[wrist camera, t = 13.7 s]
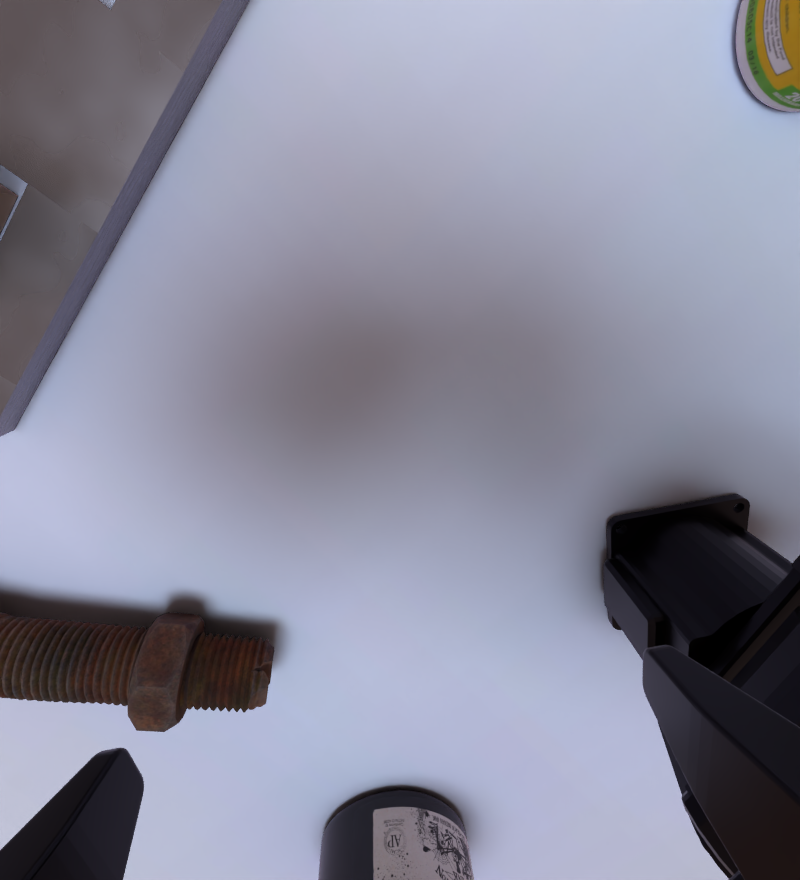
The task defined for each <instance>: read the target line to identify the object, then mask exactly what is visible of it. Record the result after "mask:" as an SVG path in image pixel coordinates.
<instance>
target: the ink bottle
mask: <svg viewBox="0 0 800 880" xmlns="http://www.w3.org/2000/svg"><path fill="white" fill-rule="evenodd" d="M318 880H474V877H473V871H472V865H471V859H470V852H469V846H468V842H467V838H466V833H465V829H464V826H463V823H462V821H461V819H460V818H459V816H458V815H457V814H456V812H455V811H454V810H453V809H452V808H450V807H449V806H448V805H447V804H445V803H444V802H442V801H440V800H439V799H437V798H435V797H432V796H430V795H427V794H424V793H420V792H416V791H409V790H394V791H386V792H381V793H377V794H374V795H371V796H368V797H365V798H363V799H360V800H358V801H356V802H354V803H352V804H350V805H349V806H347V807H346V808H344V809H343V810H341V811H340V812H339V813H338V814H337V815H336V816H335V817H334V818H333V819H332V820H331V821H330V822H329V824H328V825H327V827H326V829H325V831H324V834H323V838H322V844H321V855H320V867H319V879H318Z"/></svg>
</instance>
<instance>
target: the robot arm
mask: <svg viewBox="0 0 800 880" xmlns="http://www.w3.org/2000/svg"><path fill="white" fill-rule="evenodd" d="M736 504H738V505H737V506H736V507H735V508H734V506H735V505H736ZM749 507H750V505H749V502H748V500H747V499H745V498H744V497H742V496H740V495H738V494H733V495H728V496H722V497H717V498H711V499H706V500H701V501H695V502H690V503H684V504H679V505H674V506H668V507H663V508H657V509H652V510H646V511H641V512H636V513H630V514H625V515H619V516H616V517H613V518H612V519H610V520H609V522H608V524H607V560H606V561H605V563H604V565H603V567H604V603H605V606H606V607H607V609H608V618H609V621H610V623H611V624H612V626H613V627H614V628H615V629H617V630H622V631H623V632H624V633H625V635H626V636H627V638H628V639H629V641H630V642H631V644H632V645H633V647H634V648H635V650H636V651H637V652H638V654H639V655H640V657H641V658H642V660H643V688H644V692H645V695H646V697H647V699H648V702H649V704H650V706H651V708H652V710H653V712H654V714H655V716H656V718H657V720H658V724H659V727H660V730H661V733H662V736H663V739H664V742H665V745H666V748H667V751H668V754H669V757H670V760H671V763H672V766H673V769H674V772H675V775H676V778H677V781H678V784H679V787H680V790H681V793H682V801H683V804H684V807H685V810H686V812H687V813H688V815H689V817H690V819H691V822H692V824H693V827H694V829H695V831H696V833H697V835H698V837H699V839H700V841H701V843H702V845H703V847H704V848H705V850H706V851H707V852H708V853H709V854H710V856H711V857H712V858H713V860H714V861H715V863H716V864H717V865H718V866H719V868H720V869H721V870H722V871H723V872H724V874H725V875H726V876H727V877H728V878H729V880H800V555H799V556H798V558H797V559H796V560H795V561H794V562H793V563H791V562H790V561H788V560H787V559H785V558H784V557H783V556H781V555H780V554H778V553H777V552H776V551H774V550H773V549H771V548H770V547H769V546H767V545H766V544H764V543H763V542H762V541H760V540H759V539H758V538H756V537H755V536H753V535H752V534H751V533H749V532H748V531H747V526H748V516H749ZM620 525H622V527H621V528H620V529H618V530H616V529H617V527H618V526H620ZM143 791H144V781H143V777H142V775H141V773H140V771H139V770H138V768H137V766H136V764H135V763H134V761H133V759H132V757H131V756H130V754H129V752H128V751H127V750H126V749H124V748H116V749H111V750H105V751H102V752H99V753H98V754H96V755H95V756H94V757H93V758H91V760H90V761H89V762H88V763H87V764H86V765H85V766H84V767H83V768H82V769H81V770H80V771H79V772H78V773H77V774H76V775H75V776H74V777H73V778H72V779H71V780H70V781H69V782H68V783H67V784H66V785H65V786H64V787H63V788H62V789H61V790H60V791H59V792H58V793H57V794H56V795H55V796H54V797H53V798H52V799H51V800H50V801H49V802H48V803H47V804H46V805H45V806H44V807H43V808H42V809H41V810H40V811H39V812H38V813H37V814H36V815H35V816H34V817H33V818H32V819H31V820H30V821H29V822H28V823H27V824H26V825H25V826H24V827H23V828H22V829H21V830H20V831H19V832H18V833H17V834H16V835H15V836H14V837H13V838H12V839H11V840H10V841H9V842H8V843H7V844H6V845H5V846H4V847H3V848H2V849H1V850H0V880H123V877H124V873H125V868H126V864H127V860H128V856H129V851H130V847H131V843H132V839H133V835H134V830H135V826H136V822H137V818H138V814H139V809H140V805H141V801H142V797H143Z"/></svg>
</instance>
